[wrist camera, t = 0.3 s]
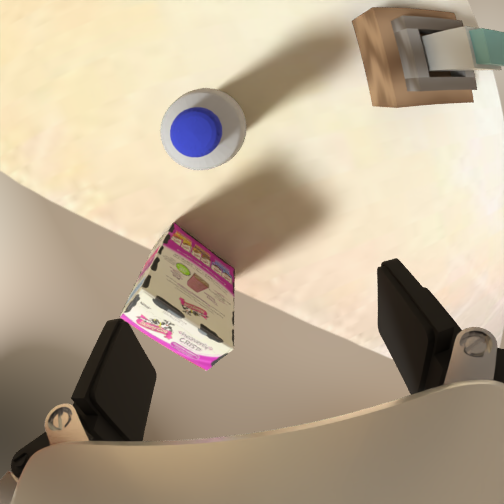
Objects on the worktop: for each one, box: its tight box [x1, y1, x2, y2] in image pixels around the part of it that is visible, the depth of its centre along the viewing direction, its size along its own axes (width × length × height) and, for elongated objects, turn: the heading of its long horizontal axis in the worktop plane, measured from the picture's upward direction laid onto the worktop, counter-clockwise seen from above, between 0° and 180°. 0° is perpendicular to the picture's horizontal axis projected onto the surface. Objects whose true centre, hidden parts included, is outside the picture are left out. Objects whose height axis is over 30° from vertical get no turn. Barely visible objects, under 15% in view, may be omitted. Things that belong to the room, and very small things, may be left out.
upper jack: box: [352, 7, 477, 108], centre depth 28 cm, size 12×12×10 cm
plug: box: [420, 26, 504, 71], centre depth 21 cm, size 4×4×12 cm
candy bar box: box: [120, 223, 235, 371], centre depth 37 cm, size 11×5×16 cm, turn 48°
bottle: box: [161, 88, 246, 170], centre depth 27 cm, size 7×7×20 cm
